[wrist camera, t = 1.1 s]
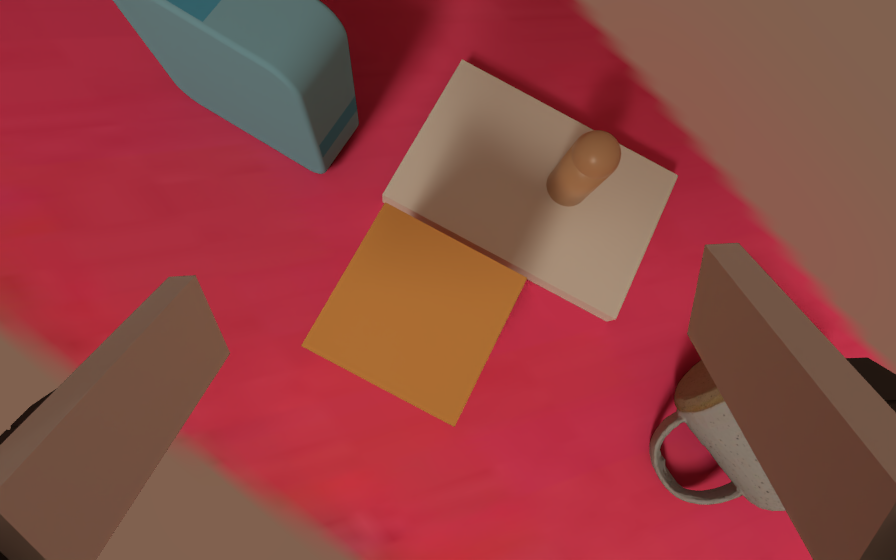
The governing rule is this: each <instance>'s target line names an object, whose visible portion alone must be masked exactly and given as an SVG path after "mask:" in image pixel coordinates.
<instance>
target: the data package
mask: <svg viewBox="0 0 896 560" xmlns="http://www.w3.org/2000/svg"><path fill="white" fill-rule="evenodd" d="M113 1H114V2H115V4H116V5H117V6H118V8H119V9H120V10H121V12H122V13H123V14H124V16H125V17H126V18H127V20H128V21H129V22H130V24H131V25H132V26H133V28H134V29H135V30H136V32H137V33H138V35H139V36H140V37H141V39H142V40H143V41H144V43H145V44H146V45H147V47H148V48H149V49H150V51H151V52H152V53H153V55H154V56H155V57H156V59H157V60H158V61H159V63H160V64H161V65H162V67H163V68H164V69H165V71H166V72H167V73H168V75H169V76H170V77H171V79H172V80H173V81H174V83H175V84H176V85H177V86H178V87H179V88H180V89H181V90H182V91H183V92H184V93H185V94H187V95H188V96H189V97H190V98H192V99H193V100H194V101H196V102H197V103H199V104H200V105H202V106H204V107H205V108H207V109H209V110H210V111H212V112H214V113H215V114H217V115H219V116H220V117H222V118H224V119H225V120H227V121H229V122H230V123H232V124H234V125H235V126H237V127H239V128H240V129H242V130H244V131H245V132H247V133H249V134H250V135H252V136H254V137H255V138H257V139H259V140H260V141H262V142H264V143H265V144H267V145H269V146H270V147H272V148H274V149H275V150H277V151H279V152H280V153H282V154H284V155H285V156H287V157H289V158H290V159H292V160H294V161H295V162H297V163H299V164H300V165H302V166H304V167H305V168H307V169H309V170H311V171H313V172H315V173H319V174H323V173H325V172H326V171H327V169H328V168H329V167H330V165H331V164H332V162H333V161H334V160H335V158H336V157H337V155H338V154H339V152H340V151H341V150H342V148H343V147H344V145H345V144H346V143H347V141H348V140H349V138H350V137H351V135H352V134H353V133H354V131H355V130H356V128H357V127H358V125H359V120H358V112H357V105H356V98H355V90H354V83H353V75H352V68H351V60H350V53H349V46H348V38H347V34H346V31H345V29H344V27H343V25H342V23H341V22H340V20H339V19H338V18H337V16H336V15H335V14H334V13H333V12H332V11H331V10H330V9H329V8H328V7H327V6H326V5H325V4H323V3H322V2H321V1H319V0H113Z"/></svg>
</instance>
